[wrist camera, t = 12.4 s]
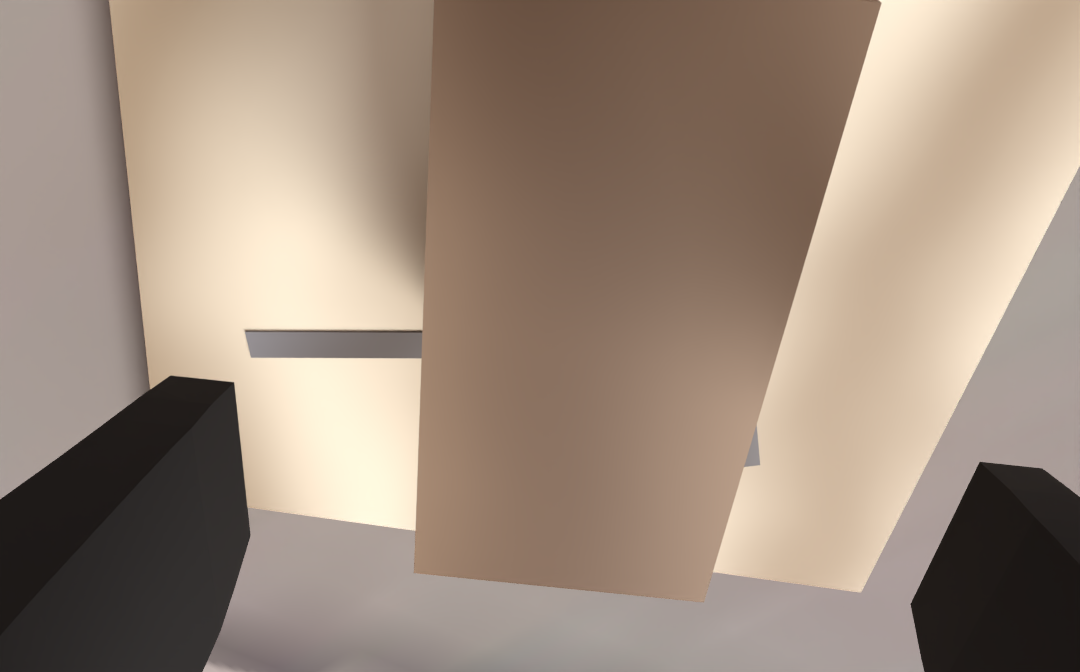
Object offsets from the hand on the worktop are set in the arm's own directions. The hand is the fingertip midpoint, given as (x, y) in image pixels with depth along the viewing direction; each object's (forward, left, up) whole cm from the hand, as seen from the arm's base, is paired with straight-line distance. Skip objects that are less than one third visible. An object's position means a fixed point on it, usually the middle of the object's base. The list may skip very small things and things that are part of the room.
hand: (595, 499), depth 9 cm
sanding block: (0, -1, -8) cm, 8 cm away
